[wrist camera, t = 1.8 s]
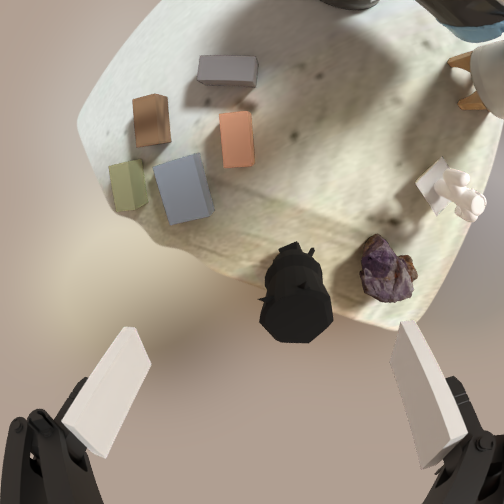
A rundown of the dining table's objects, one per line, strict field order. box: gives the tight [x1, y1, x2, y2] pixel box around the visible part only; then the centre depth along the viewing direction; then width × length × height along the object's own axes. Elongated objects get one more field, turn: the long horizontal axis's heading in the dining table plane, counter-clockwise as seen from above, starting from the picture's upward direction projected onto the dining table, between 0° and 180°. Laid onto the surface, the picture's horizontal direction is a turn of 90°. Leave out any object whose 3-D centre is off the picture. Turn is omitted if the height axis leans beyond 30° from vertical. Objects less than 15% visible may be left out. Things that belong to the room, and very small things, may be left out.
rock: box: [360, 234, 418, 303], centre depth 43 cm, size 12×9×10 cm
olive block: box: [109, 159, 148, 212], centre depth 43 cm, size 8×4×5 cm, turn 4°
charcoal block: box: [197, 55, 258, 87], centre depth 34 cm, size 8×4×5 cm, turn 84°
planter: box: [447, 40, 504, 119], centre depth 22 cm, size 13×13×18 cm
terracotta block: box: [219, 111, 255, 168], centre depth 38 cm, size 8×4×5 cm, turn 4°
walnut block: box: [132, 94, 171, 147], centre depth 38 cm, size 8×4×5 cm, turn 4°
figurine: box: [415, 156, 486, 222], centre depth 32 cm, size 7×9×15 cm
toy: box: [259, 241, 333, 343], centre depth 38 cm, size 8×9×20 cm
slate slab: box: [153, 153, 215, 225], centre depth 43 cm, size 10×7×4 cm
